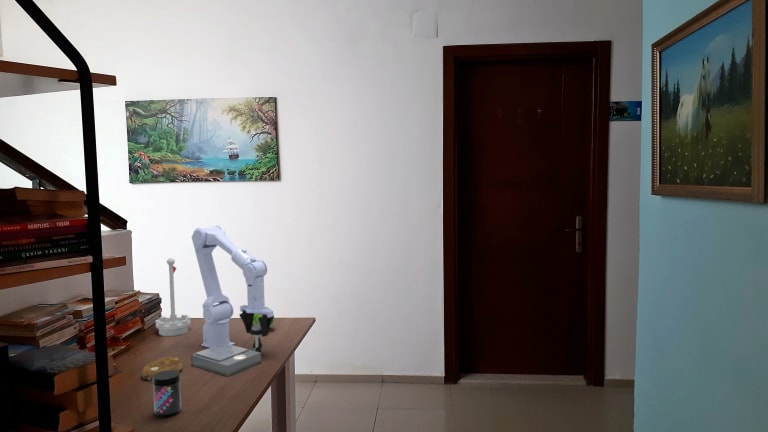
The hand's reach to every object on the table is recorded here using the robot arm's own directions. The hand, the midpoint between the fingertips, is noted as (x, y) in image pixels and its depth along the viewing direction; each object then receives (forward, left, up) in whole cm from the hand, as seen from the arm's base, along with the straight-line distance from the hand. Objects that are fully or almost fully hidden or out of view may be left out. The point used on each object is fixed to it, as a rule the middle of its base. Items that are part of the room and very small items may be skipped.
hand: (257, 334), depth 184 cm
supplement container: (+13, -44, -8) cm, 46 cm away
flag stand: (-48, 0, -8) cm, 49 cm away
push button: (0, 0, -8) cm, 8 cm away
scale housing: (-2, -12, -7) cm, 14 cm away
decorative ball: (-19, +20, -8) cm, 29 cm away
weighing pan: (-4, -12, -4) cm, 13 cm away
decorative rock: (-13, -28, -8) cm, 32 cm away
